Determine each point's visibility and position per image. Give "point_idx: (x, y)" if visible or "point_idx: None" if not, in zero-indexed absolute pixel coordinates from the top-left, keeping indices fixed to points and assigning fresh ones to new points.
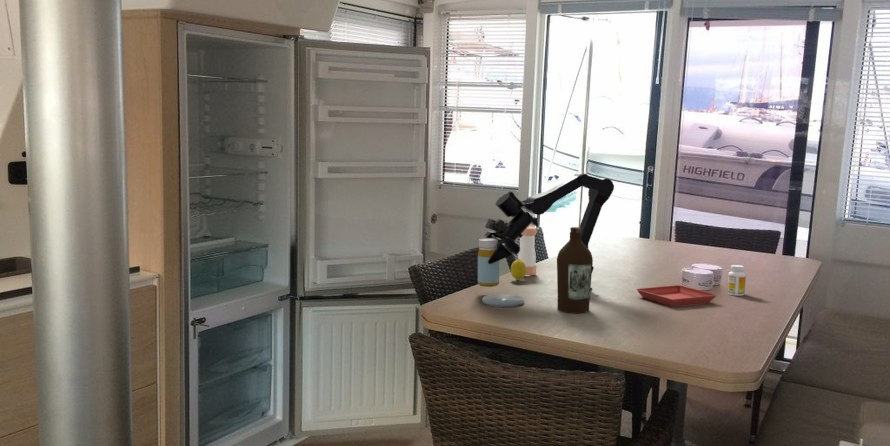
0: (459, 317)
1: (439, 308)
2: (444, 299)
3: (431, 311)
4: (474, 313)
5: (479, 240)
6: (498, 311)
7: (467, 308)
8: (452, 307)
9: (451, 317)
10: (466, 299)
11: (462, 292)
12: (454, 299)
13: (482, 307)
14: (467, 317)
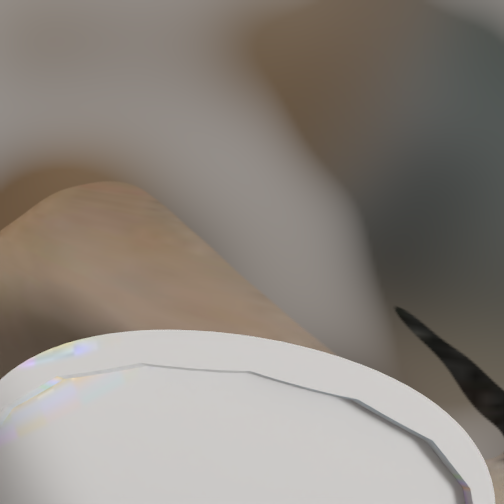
0: (13, 231)
1: (95, 206)
2: (198, 242)
3: (81, 186)
4: (16, 275)
5: (225, 337)
6: (4, 345)
7: (58, 276)
8: (87, 239)
9: (22, 216)
10: (172, 319)
11: (316, 342)
12: (187, 275)
13: (49, 325)
14: (4, 247)
